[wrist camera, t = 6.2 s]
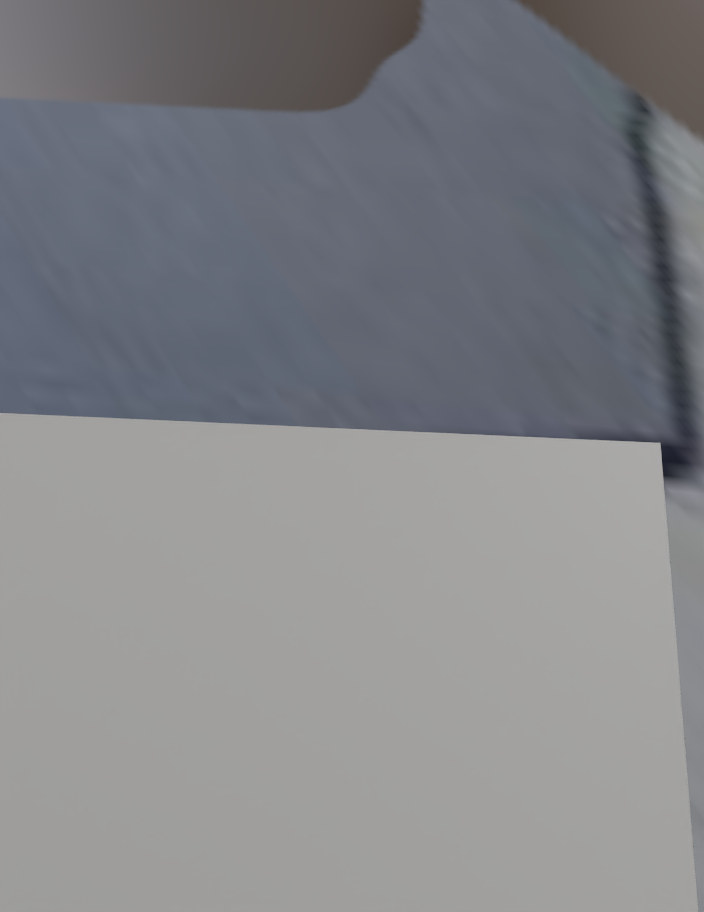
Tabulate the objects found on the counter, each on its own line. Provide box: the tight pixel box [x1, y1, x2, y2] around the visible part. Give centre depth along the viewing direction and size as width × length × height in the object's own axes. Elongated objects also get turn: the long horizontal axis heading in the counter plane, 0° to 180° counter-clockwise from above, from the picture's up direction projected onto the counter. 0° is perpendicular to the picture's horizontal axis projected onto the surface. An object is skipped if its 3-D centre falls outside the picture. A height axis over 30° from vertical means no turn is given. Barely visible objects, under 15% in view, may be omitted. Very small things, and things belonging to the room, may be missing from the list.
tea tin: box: [0, 413, 698, 912], centre depth 8 cm, size 6×6×12 cm
